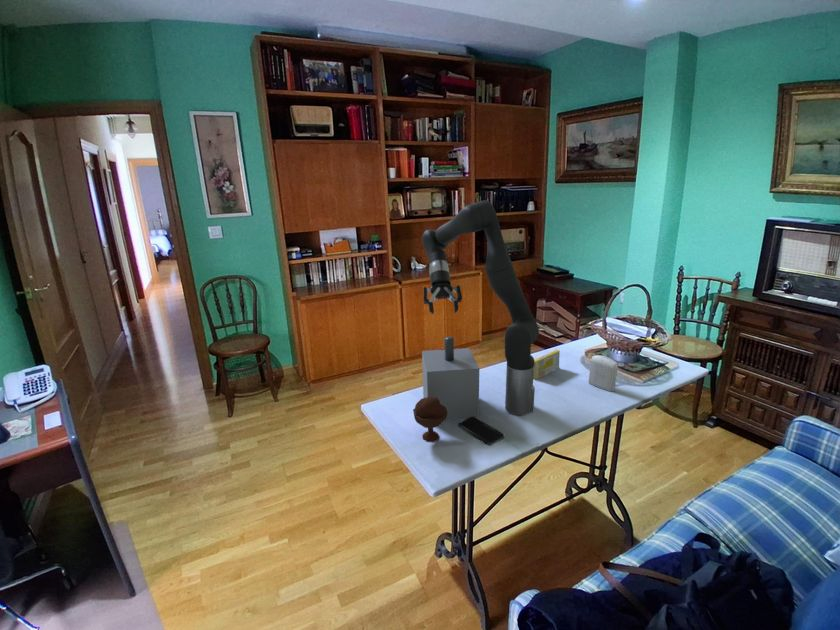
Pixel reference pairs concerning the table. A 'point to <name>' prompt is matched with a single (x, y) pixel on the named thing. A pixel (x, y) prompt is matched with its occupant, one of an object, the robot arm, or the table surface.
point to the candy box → (546, 364)
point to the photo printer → (603, 372)
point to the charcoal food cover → (452, 380)
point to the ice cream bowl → (430, 416)
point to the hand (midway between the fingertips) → (444, 312)
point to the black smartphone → (481, 431)
